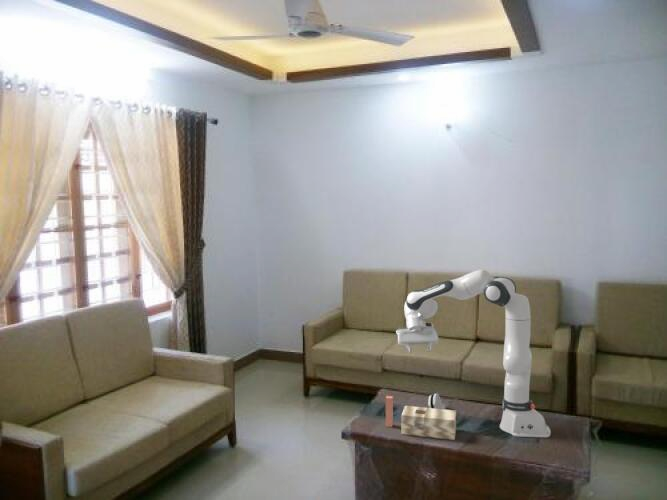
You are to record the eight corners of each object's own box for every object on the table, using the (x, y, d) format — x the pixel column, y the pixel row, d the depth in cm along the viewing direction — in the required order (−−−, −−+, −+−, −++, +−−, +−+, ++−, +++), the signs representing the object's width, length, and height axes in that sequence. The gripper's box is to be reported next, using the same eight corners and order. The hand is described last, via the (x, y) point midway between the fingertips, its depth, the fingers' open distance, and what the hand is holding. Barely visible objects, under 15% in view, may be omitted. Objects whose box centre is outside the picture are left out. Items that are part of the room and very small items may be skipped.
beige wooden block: (455, 429, 263) (456, 410, 262) (454, 440, 251) (454, 420, 250) (404, 423, 269) (405, 405, 268) (401, 434, 257) (401, 415, 256)
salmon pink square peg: (392, 424, 268) (392, 396, 267) (391, 427, 265) (392, 398, 264) (386, 424, 269) (386, 395, 267) (385, 426, 266) (385, 397, 265)
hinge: (442, 419, 274) (436, 400, 274) (433, 421, 275) (426, 402, 275) (445, 407, 290) (439, 389, 290) (437, 409, 291) (430, 391, 291)
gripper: (396, 324, 281) (399, 349, 272) (436, 323, 282) (441, 347, 273) (394, 331, 286) (398, 355, 277) (434, 330, 287) (439, 354, 278)
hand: (420, 351), depth 275 cm, fingers open, 8 cm apart
